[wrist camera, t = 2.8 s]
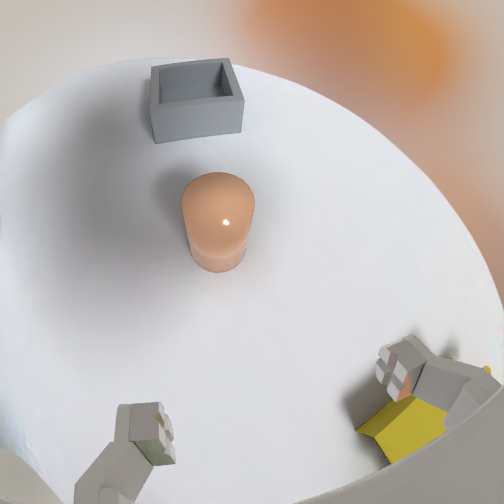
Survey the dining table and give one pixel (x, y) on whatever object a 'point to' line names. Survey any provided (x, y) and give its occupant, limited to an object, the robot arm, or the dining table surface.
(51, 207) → the dining table surface
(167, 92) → the gray open box
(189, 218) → the canister
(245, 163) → the dining table surface
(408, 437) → the yellow box with tab
